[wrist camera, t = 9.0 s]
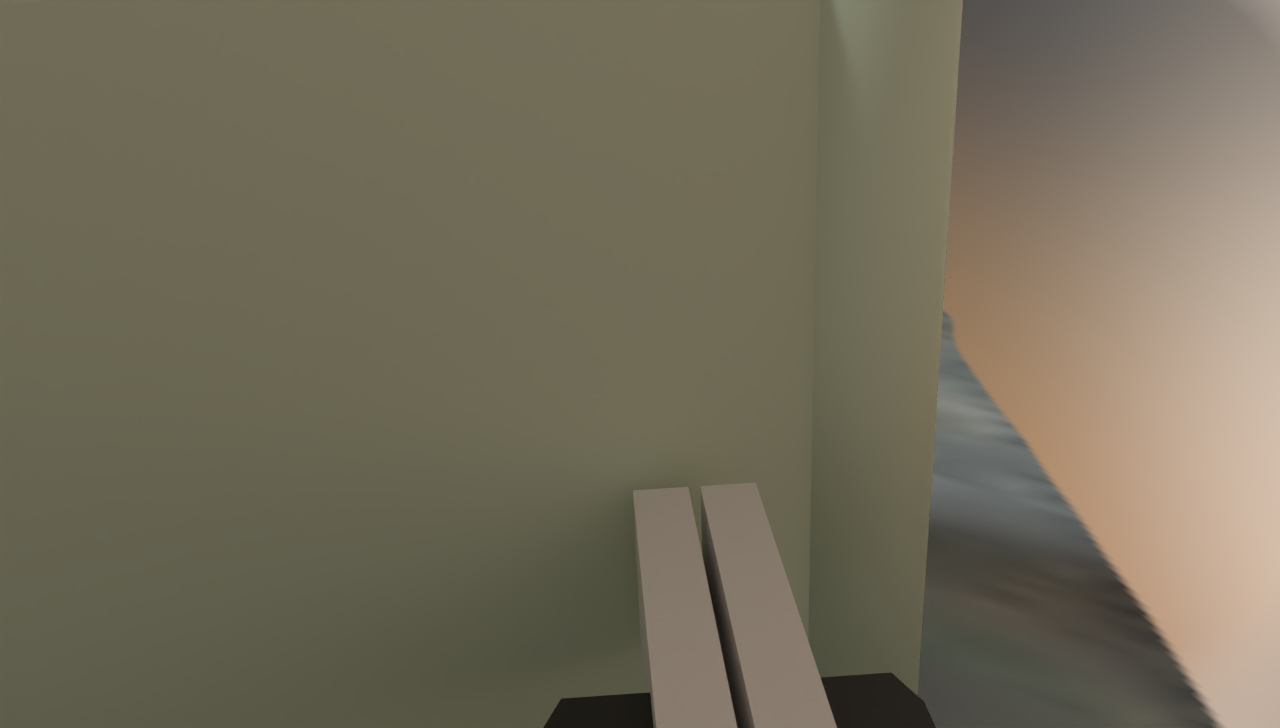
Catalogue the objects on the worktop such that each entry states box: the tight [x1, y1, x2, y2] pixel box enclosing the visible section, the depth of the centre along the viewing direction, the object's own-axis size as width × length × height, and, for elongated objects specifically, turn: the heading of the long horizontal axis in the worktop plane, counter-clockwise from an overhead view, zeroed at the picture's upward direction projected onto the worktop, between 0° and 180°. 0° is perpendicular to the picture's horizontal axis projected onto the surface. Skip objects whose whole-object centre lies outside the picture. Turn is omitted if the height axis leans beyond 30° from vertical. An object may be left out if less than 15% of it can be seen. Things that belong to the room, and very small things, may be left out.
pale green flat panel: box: [0, 0, 963, 728], centre depth 14 cm, size 17×3×15 cm, turn 121°
